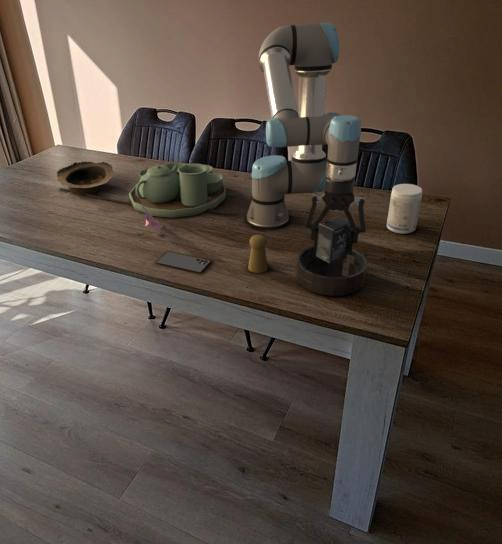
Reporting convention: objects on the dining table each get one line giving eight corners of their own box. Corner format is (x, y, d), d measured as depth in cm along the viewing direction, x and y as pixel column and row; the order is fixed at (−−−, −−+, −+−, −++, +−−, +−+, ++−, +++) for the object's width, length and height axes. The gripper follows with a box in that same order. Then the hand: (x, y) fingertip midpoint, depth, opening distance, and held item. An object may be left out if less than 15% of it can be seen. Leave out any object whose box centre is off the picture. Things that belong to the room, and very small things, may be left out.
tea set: (240, 186, 215) (240, 148, 206) (199, 225, 185) (196, 183, 177) (160, 175, 231) (157, 140, 223) (110, 210, 202) (104, 171, 193)
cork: (246, 264, 160) (246, 233, 154) (265, 262, 160) (265, 231, 154) (250, 273, 155) (250, 242, 149) (269, 271, 155) (270, 240, 149)
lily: (151, 246, 176) (162, 223, 172) (123, 230, 178) (134, 206, 174) (163, 240, 187) (174, 218, 183) (137, 225, 189) (147, 203, 185)
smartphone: (168, 251, 169) (210, 259, 162) (168, 253, 169) (210, 261, 162) (156, 262, 163) (200, 271, 156) (156, 263, 164) (200, 272, 157)
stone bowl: (87, 174, 238) (85, 155, 233) (127, 187, 226) (126, 168, 221) (47, 192, 221) (44, 172, 216) (88, 207, 209) (85, 186, 204)
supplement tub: (400, 220, 179) (407, 181, 171) (421, 230, 172) (430, 190, 164) (379, 226, 176) (385, 187, 168) (400, 237, 168) (408, 196, 161)
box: (330, 263, 141) (333, 230, 136) (315, 256, 145) (318, 223, 140) (349, 254, 145) (353, 221, 139) (334, 247, 149) (337, 215, 143)
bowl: (291, 293, 144) (293, 274, 141) (300, 259, 160) (301, 241, 157) (363, 301, 139) (366, 282, 135) (364, 266, 154) (367, 247, 151)
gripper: (296, 179, 133) (292, 253, 144) (384, 184, 126) (372, 261, 138) (300, 169, 139) (296, 241, 150) (383, 173, 132) (372, 248, 144)
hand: (332, 251), depth 144 cm, fingers closed on box, 9 cm apart
